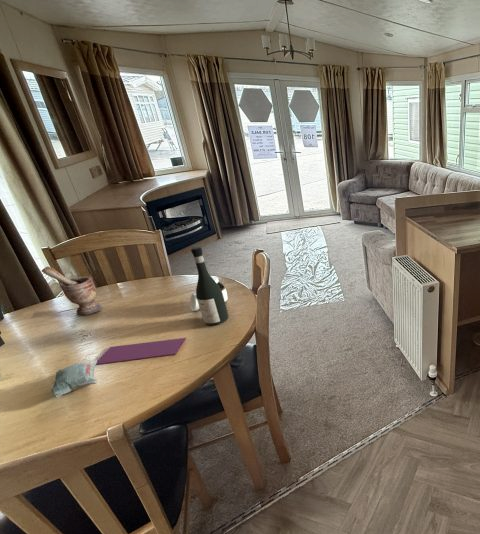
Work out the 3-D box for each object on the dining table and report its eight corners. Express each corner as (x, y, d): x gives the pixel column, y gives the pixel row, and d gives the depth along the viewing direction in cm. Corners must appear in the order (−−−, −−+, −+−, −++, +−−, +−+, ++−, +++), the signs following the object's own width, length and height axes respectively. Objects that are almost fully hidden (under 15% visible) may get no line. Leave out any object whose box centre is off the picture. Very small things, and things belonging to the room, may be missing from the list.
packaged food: (100, 366, 105) (93, 353, 103) (99, 387, 97) (92, 374, 95) (60, 379, 100) (52, 366, 98) (56, 403, 92) (47, 389, 90)
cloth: (93, 365, 105) (93, 364, 105) (110, 347, 113) (110, 346, 113) (175, 354, 111) (175, 353, 111) (186, 338, 119) (185, 337, 119)
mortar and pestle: (62, 322, 126) (37, 274, 117) (64, 312, 131) (40, 265, 123) (104, 311, 133) (83, 265, 124) (104, 303, 138) (84, 258, 130)
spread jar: (232, 302, 142) (226, 277, 137) (209, 316, 132) (202, 290, 127) (209, 297, 145) (202, 273, 140) (185, 311, 135) (176, 285, 130)
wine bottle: (217, 328, 125) (195, 253, 112) (199, 324, 127) (175, 250, 114) (233, 316, 132) (214, 245, 120) (216, 313, 134) (196, 242, 121)
